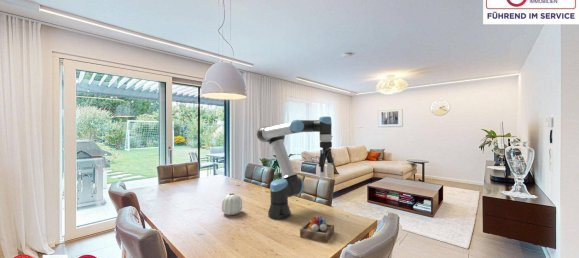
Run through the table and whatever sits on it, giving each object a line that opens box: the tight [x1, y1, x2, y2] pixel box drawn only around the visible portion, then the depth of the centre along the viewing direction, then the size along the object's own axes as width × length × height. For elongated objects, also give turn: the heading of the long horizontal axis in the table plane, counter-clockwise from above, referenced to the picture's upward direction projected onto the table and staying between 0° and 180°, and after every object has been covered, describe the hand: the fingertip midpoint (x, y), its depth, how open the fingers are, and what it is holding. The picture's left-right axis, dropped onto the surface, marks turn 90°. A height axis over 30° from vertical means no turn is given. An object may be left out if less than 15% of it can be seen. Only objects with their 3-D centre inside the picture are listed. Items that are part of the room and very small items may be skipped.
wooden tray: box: [299, 220, 335, 243], centre depth 128 cm, size 15×13×4 cm
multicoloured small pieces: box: [309, 215, 328, 232], centre depth 128 cm, size 8×10×7 cm
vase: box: [221, 192, 243, 216], centre depth 163 cm, size 14×14×13 cm
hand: (326, 175), depth 146 cm, fingers open, 13 cm apart
